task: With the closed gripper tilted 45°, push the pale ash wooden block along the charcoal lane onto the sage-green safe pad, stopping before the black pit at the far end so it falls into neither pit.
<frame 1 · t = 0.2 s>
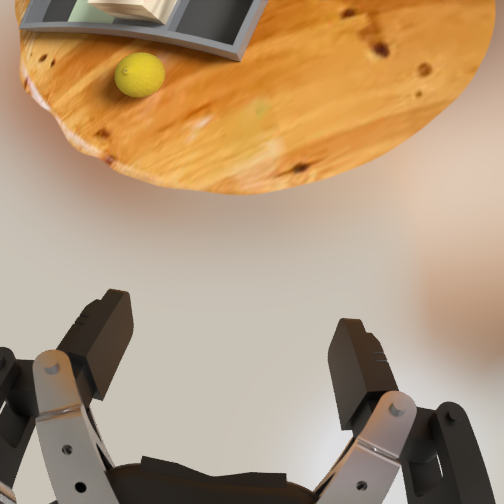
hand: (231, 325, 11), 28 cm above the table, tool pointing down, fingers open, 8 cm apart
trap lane: (133, 3, 27), on the table
lemon: (153, 79, 32), on the table
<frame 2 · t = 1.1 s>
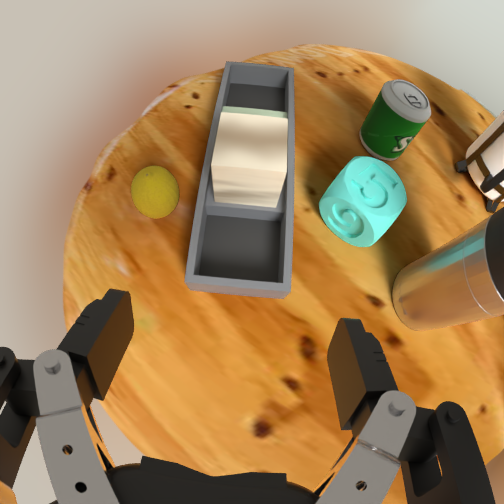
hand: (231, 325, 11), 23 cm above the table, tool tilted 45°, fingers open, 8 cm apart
decorative dice: (351, 215, 38), on the table
ash block: (247, 178, 35), point 3 cm above the table, touching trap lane
coffee press: (479, 183, 43), on the table
soda can: (378, 145, 43), on the table
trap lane: (249, 165, 39), on the table
lemon: (162, 208, 37), on the table
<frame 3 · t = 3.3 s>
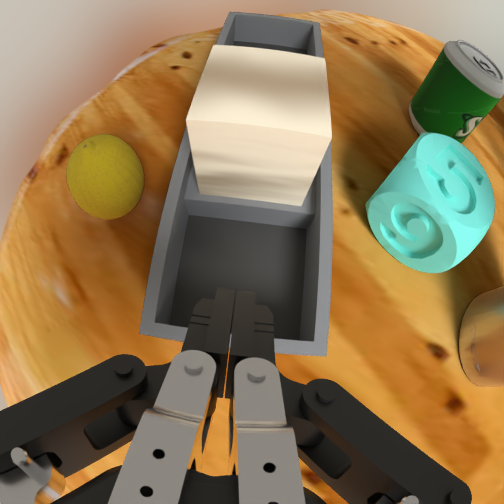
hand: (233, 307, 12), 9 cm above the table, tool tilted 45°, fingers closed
decorative dice: (406, 223, 24), on the table
ash block: (255, 158, 22), point 3 cm above the table, touching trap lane
soda can: (430, 129, 29), on the table
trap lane: (257, 142, 26), on the table
lemon: (123, 204, 23), on the table
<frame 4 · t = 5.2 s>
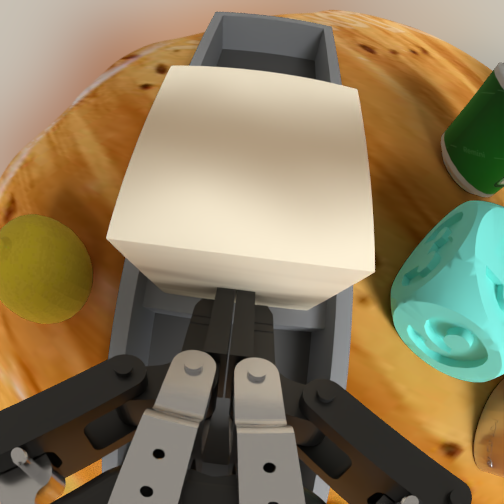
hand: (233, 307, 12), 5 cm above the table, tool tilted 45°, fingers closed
decorative dice: (435, 304, 18), on the table
ash block: (243, 234, 15), point 3 cm above the table, touching gripper
soda can: (463, 168, 23), on the table
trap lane: (248, 199, 20), on the table
lemon: (76, 288, 17), on the table
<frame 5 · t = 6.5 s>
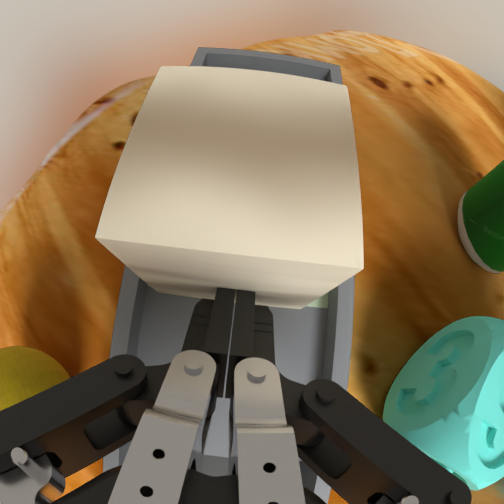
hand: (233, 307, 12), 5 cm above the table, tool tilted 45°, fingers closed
decorative dice: (430, 401, 16), on the table
ash block: (236, 233, 15), point 3 cm above the table, touching gripper, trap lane
soda can: (478, 235, 20), on the table
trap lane: (236, 307, 17), on the table
lemon: (63, 391, 15), on the table
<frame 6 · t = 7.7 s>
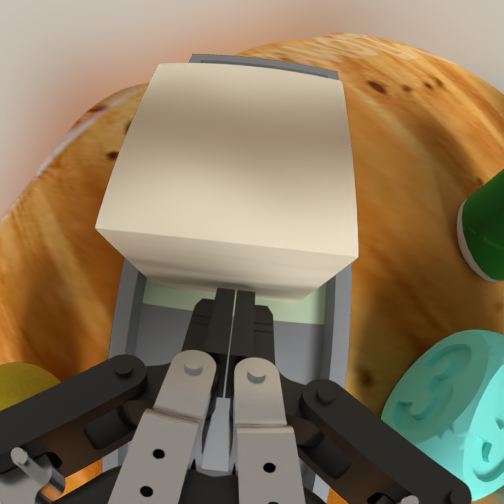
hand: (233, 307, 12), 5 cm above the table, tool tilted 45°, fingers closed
decorative dice: (427, 411, 16), on the table
ash block: (234, 228, 16), point 3 cm above the table, touching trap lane
soda can: (478, 243, 20), on the table
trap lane: (232, 321, 17), on the table
lemon: (62, 403, 15), on the table
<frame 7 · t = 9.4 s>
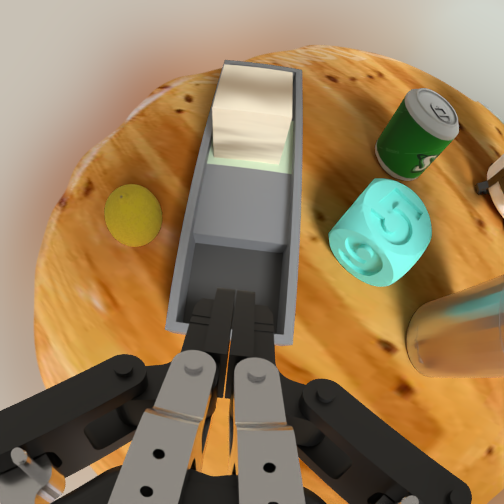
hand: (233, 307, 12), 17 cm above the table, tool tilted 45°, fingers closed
decorative dice: (364, 246, 33), on the table
ash block: (249, 136, 32), point 3 cm above the table, touching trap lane
coffee press: (499, 206, 38), on the table
soda can: (394, 162, 37), on the table
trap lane: (247, 183, 34), on the table
lemon: (144, 232, 31), on the table
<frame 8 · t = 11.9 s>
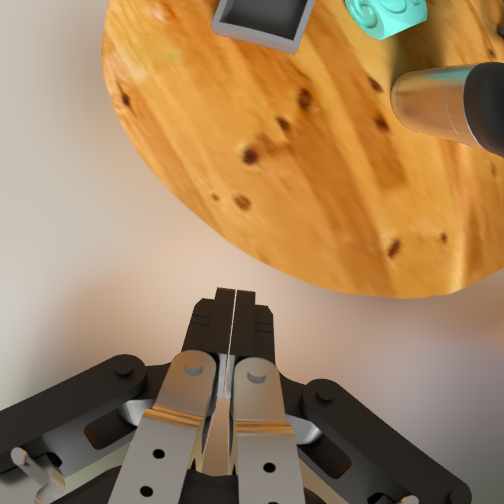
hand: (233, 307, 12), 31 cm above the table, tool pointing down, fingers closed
decorative dice: (375, 13, 29), on the table
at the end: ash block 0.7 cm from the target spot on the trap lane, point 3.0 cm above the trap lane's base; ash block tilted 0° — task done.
